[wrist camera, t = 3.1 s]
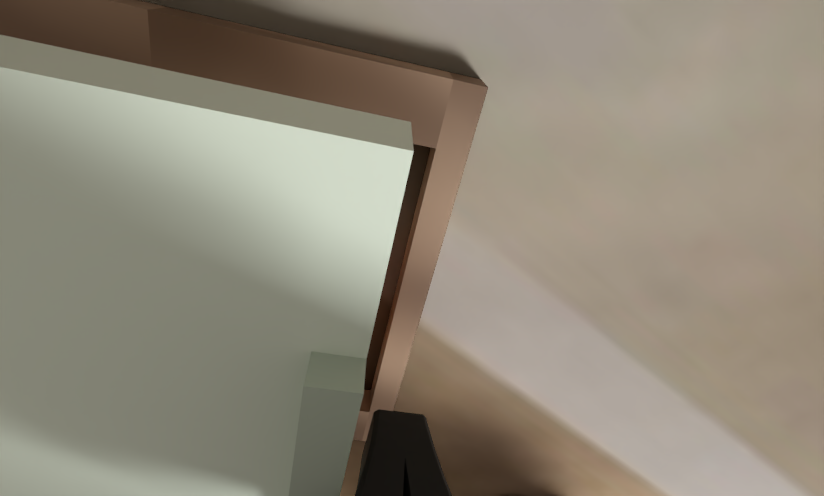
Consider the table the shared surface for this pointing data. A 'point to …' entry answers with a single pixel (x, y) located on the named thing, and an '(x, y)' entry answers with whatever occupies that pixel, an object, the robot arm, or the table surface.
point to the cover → (184, 279)
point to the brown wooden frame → (307, 79)
